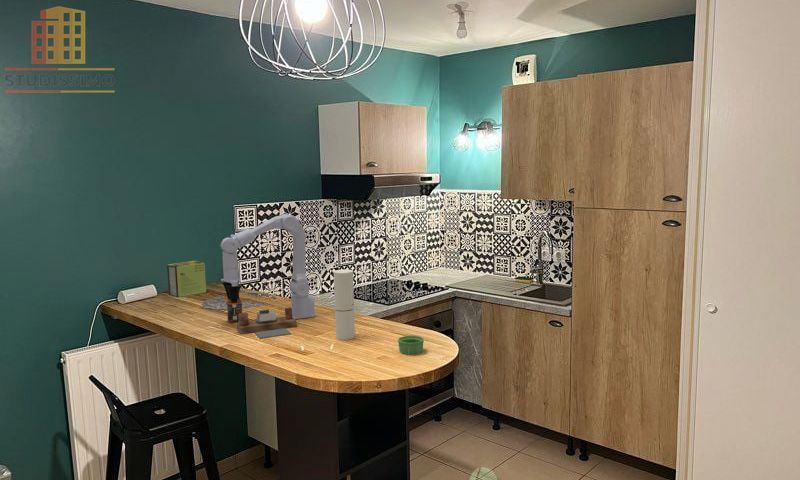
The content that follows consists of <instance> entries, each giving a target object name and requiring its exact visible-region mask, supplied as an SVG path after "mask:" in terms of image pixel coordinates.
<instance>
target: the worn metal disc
mask: <svg viewBox="0 0 800 480" xmlns="http://www.w3.org/2000/svg"><path fill="white" fill-rule="evenodd" d="M247 293H248V294H247V295H248V296H249V295H250V296H252V297H254V296H256V297H255V298H258V296H257V295H258V294H261V296H266V297H269V296H272V297H271V298H273V299H277V300H278V298H277V297H276V296H275V295H270V294H266V293H257V292H247ZM225 295H226V294H224V295H219V296H214V297H211V298H208V299H206V300H204V301H203V302H202V303H201V306H202V308H203V309H207V310H211V311H227V302H226V303H225V301H224V298H225V297H224V296H225ZM259 296H260V295H259ZM260 298H262V297H259V299H260ZM265 304H266V303H264V304H262V303H261V302H260V303H256V306H257V307H261V305H262V306H266V305H265ZM250 307H251V308H255V305H254V302H253V303H252V304H251V301H250V302H247V301H246V302H245V301H244V302H243V303H242V310H243V308H244V309H250Z"/></svg>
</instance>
